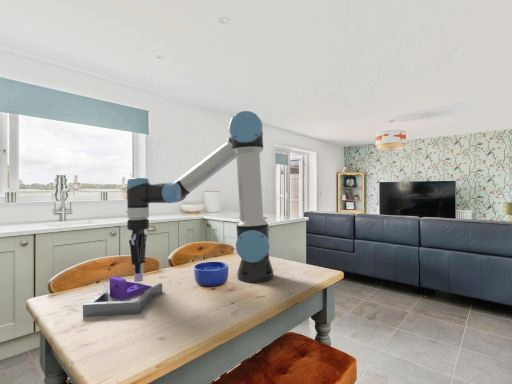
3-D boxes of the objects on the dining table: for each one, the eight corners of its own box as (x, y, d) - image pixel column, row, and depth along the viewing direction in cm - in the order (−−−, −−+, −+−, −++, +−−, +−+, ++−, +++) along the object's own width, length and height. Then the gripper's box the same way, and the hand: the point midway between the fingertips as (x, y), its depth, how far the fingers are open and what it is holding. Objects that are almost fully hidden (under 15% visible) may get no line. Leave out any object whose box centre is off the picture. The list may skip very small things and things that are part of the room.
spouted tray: (162, 291, 101) (162, 281, 101) (147, 313, 82) (147, 301, 82) (104, 293, 99) (104, 284, 99) (75, 317, 80) (75, 305, 80)
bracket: (121, 301, 93) (121, 281, 93) (109, 297, 96) (109, 277, 96) (152, 290, 103) (151, 272, 103) (140, 287, 107) (140, 269, 107)
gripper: (134, 217, 112) (134, 276, 112) (121, 220, 99) (121, 287, 99) (153, 217, 112) (153, 275, 112) (142, 220, 99) (143, 286, 99)
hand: (138, 280), depth 106 cm, fingers closed
